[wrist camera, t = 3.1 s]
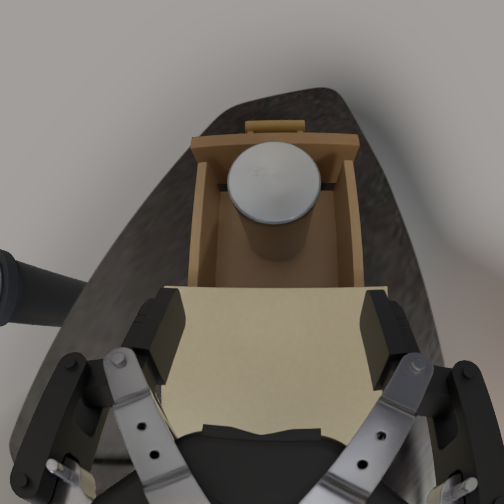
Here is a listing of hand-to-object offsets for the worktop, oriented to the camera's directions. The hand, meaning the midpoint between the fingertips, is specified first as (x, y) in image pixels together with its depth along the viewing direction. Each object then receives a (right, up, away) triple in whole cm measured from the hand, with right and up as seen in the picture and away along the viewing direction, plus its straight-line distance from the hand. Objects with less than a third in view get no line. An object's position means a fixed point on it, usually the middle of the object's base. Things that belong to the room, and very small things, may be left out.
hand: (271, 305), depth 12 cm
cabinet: (+1, -11, +14) cm, 18 cm away
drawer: (+2, +5, +17) cm, 18 cm away
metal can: (+2, +4, +16) cm, 17 cm away
